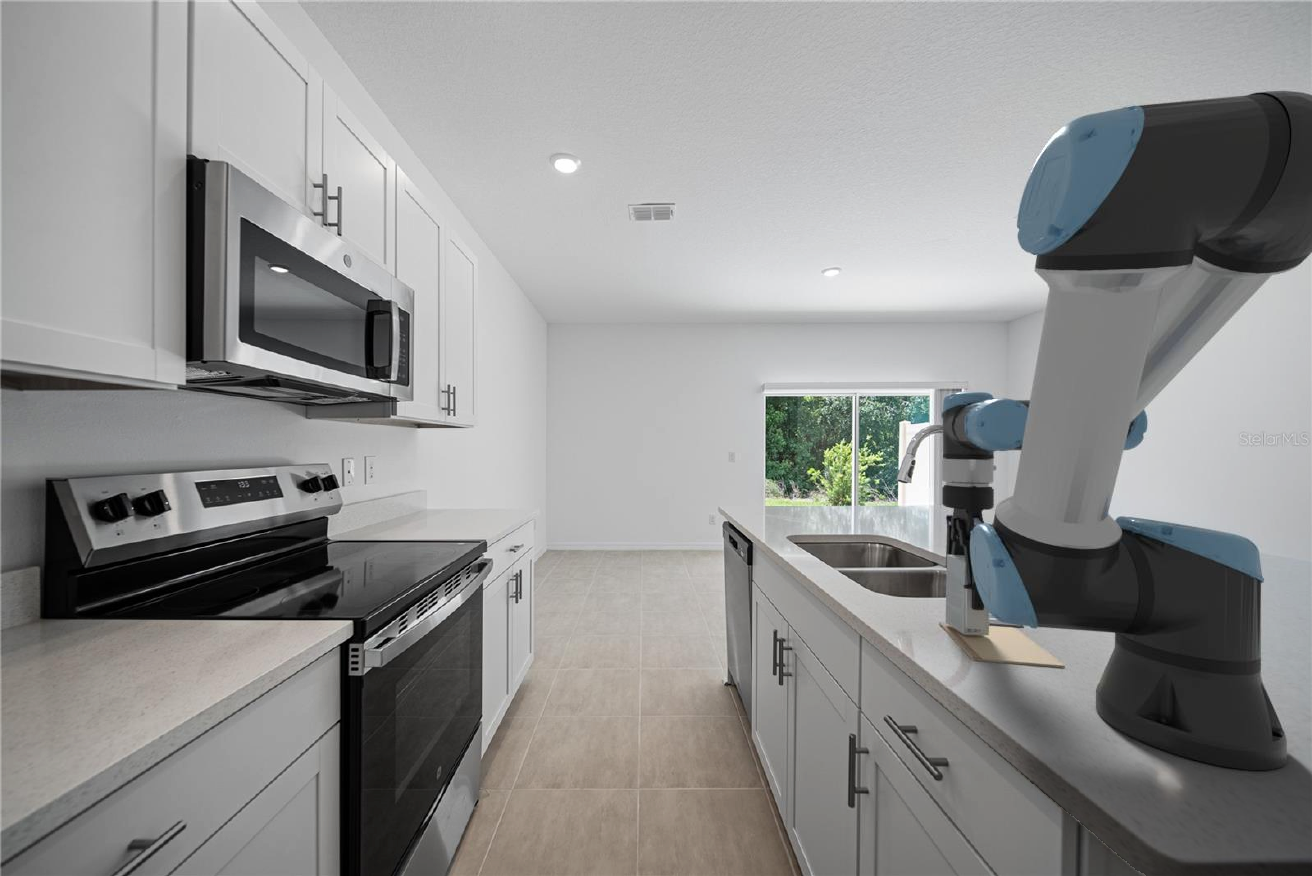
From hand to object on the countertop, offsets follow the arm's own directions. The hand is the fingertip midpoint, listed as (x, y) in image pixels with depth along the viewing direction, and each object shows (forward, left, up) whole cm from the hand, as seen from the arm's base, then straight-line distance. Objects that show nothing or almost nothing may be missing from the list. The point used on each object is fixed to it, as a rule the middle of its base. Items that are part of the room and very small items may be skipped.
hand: (967, 620), depth 90 cm
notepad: (-4, -3, -2) cm, 5 cm away
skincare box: (0, 0, -2) cm, 2 cm away
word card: (+8, -7, -2) cm, 11 cm away
